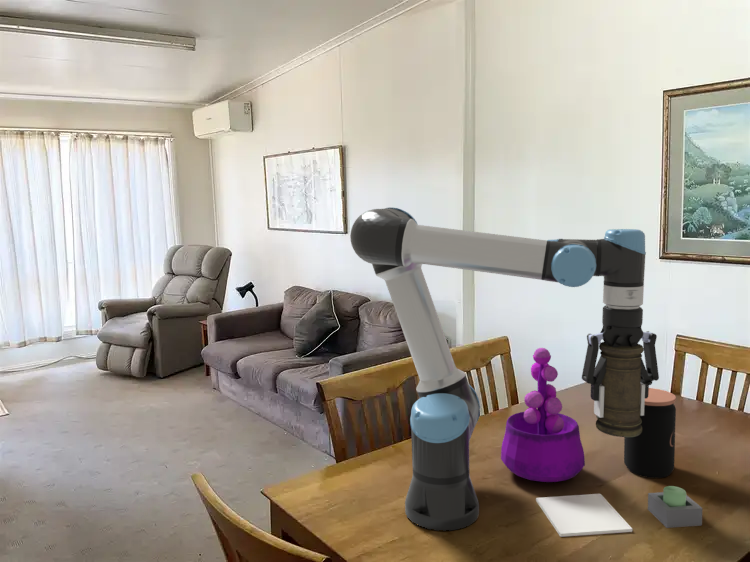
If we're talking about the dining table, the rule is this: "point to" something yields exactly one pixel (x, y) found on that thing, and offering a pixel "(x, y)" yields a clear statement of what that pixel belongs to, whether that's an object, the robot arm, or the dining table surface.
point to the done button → (674, 496)
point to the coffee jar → (653, 437)
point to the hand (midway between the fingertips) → (618, 414)
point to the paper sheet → (582, 515)
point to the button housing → (675, 512)
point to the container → (621, 391)
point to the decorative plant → (543, 432)
